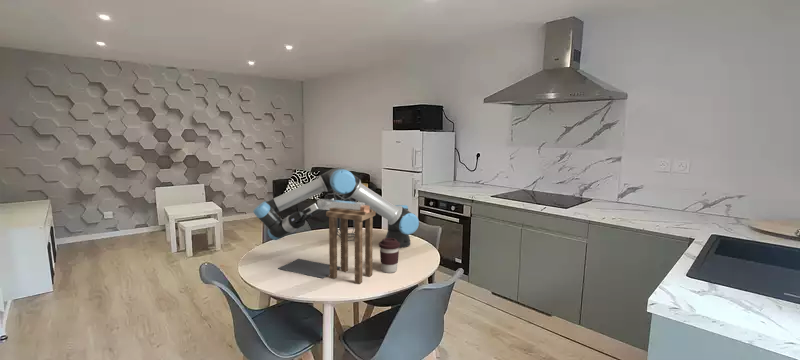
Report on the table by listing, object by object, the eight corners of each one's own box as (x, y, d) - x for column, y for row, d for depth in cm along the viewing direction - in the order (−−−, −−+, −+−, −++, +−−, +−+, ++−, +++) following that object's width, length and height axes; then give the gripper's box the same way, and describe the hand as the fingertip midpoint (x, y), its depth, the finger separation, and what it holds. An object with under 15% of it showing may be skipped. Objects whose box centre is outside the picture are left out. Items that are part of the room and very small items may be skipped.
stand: (326, 277, 168) (326, 205, 163) (341, 269, 179) (341, 200, 174) (361, 285, 160) (361, 209, 156) (375, 275, 171) (375, 204, 167)
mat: (277, 269, 177) (277, 268, 177) (298, 259, 191) (298, 258, 191) (323, 278, 167) (323, 277, 167) (341, 267, 180) (341, 266, 180)
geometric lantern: (361, 242, 222) (360, 183, 217) (335, 244, 219) (333, 184, 214) (359, 234, 238) (357, 179, 232) (333, 236, 234) (331, 180, 229)
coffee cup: (392, 276, 171) (392, 244, 169) (374, 271, 176) (374, 240, 174) (403, 269, 179) (404, 238, 177) (386, 265, 184) (386, 235, 182)
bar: (317, 208, 170) (317, 200, 169) (322, 207, 173) (322, 198, 173) (360, 213, 162) (360, 204, 161) (365, 211, 165) (365, 202, 165)
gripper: (313, 223, 190) (344, 205, 181) (278, 235, 168) (311, 216, 159) (307, 209, 191) (337, 192, 182) (271, 220, 168) (304, 200, 159)
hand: (325, 203), depth 170 cm, fingers open, 13 cm apart
